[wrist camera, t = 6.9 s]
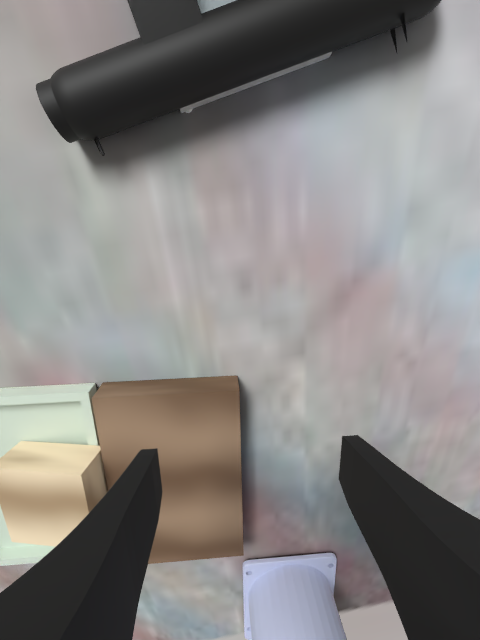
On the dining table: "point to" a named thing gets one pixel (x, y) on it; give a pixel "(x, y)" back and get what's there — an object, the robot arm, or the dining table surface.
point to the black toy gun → (207, 56)
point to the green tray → (42, 438)
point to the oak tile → (49, 489)
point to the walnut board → (180, 458)
